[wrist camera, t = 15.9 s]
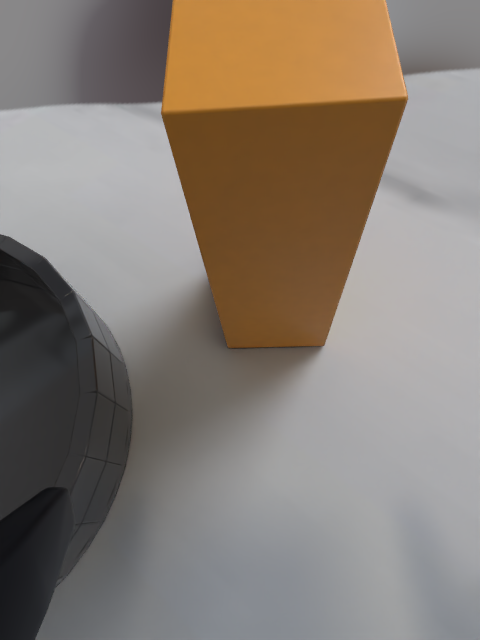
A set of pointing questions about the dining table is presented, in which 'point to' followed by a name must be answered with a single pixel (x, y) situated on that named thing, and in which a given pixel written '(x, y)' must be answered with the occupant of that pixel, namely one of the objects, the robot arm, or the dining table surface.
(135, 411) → the dining table surface
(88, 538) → the pan
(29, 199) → the dining table surface
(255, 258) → the cheese
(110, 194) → the dining table surface
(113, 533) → the dining table surface
